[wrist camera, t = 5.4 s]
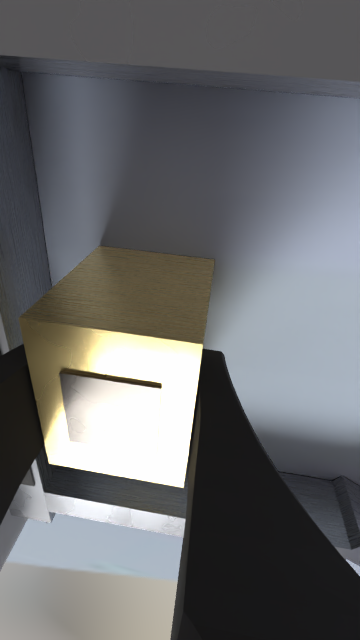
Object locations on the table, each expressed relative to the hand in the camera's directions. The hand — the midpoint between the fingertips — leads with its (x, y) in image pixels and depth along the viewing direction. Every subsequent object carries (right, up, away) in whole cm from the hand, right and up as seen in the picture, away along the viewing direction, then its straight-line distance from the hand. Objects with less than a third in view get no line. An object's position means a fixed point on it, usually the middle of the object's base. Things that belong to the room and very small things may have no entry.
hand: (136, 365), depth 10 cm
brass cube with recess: (0, +2, +2) cm, 3 cm away
